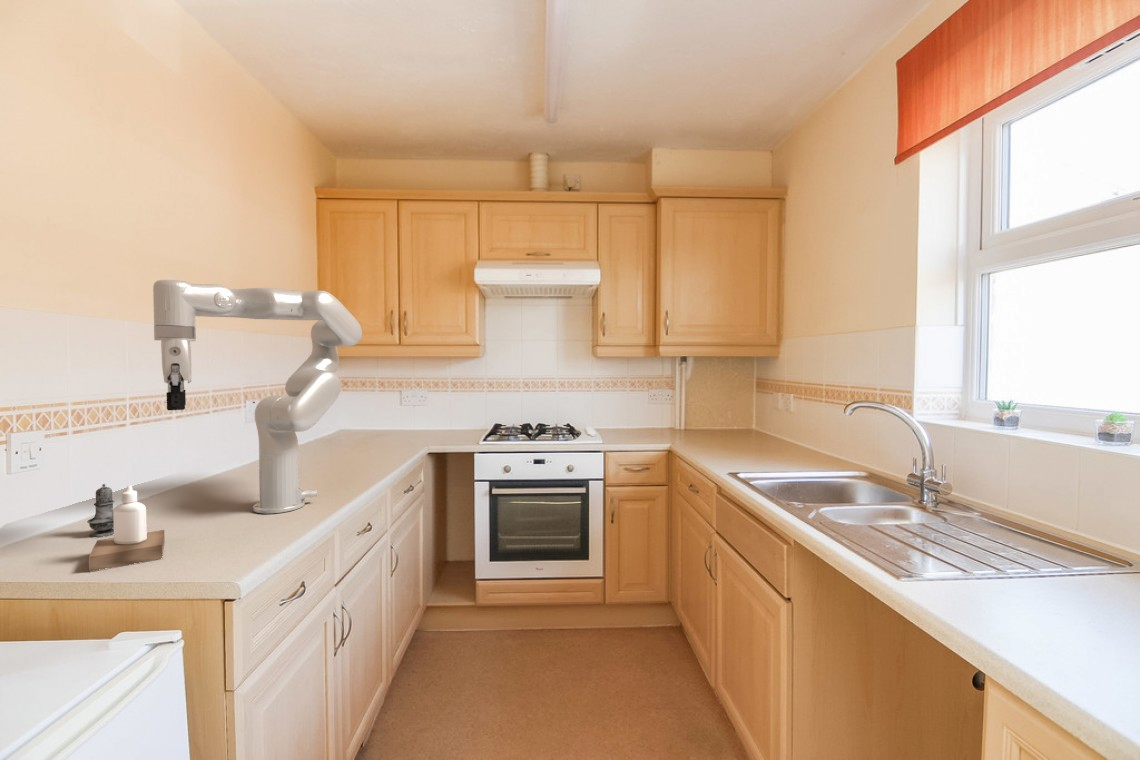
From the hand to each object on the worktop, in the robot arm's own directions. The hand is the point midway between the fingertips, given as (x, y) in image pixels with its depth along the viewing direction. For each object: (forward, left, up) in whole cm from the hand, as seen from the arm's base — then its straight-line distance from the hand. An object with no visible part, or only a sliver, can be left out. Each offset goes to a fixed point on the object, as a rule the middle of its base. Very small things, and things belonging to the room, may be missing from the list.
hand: (176, 408), depth 114 cm
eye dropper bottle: (+8, +9, -28) cm, 30 cm away
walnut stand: (+8, +9, -30) cm, 33 cm away
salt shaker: (+14, -12, -31) cm, 36 cm away
